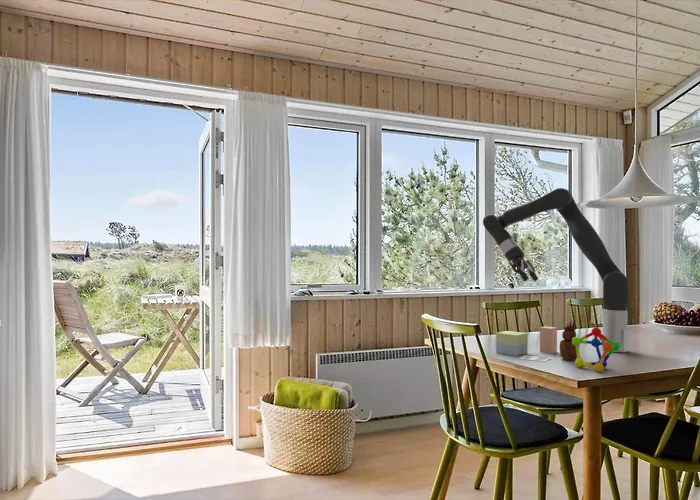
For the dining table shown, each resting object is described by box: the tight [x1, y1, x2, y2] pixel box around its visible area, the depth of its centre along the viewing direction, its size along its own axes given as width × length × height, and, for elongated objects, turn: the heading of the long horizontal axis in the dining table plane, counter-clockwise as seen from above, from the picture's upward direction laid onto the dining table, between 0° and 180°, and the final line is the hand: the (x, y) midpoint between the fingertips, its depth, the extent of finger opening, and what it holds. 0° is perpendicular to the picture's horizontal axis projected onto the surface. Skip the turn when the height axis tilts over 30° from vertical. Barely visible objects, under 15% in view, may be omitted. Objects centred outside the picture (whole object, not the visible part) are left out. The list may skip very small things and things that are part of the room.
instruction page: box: [518, 354, 552, 363], centre depth 213 cm, size 10×8×1 cm
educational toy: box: [572, 326, 620, 373], centre depth 196 cm, size 16×13×15 cm
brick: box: [539, 325, 558, 354], centre depth 228 cm, size 5×5×10 cm
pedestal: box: [495, 330, 529, 357], centre depth 224 cm, size 9×9×8 cm
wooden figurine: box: [559, 320, 580, 362], centre depth 212 cm, size 7×6×15 cm
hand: (531, 280), depth 242 cm, fingers open, 8 cm apart
